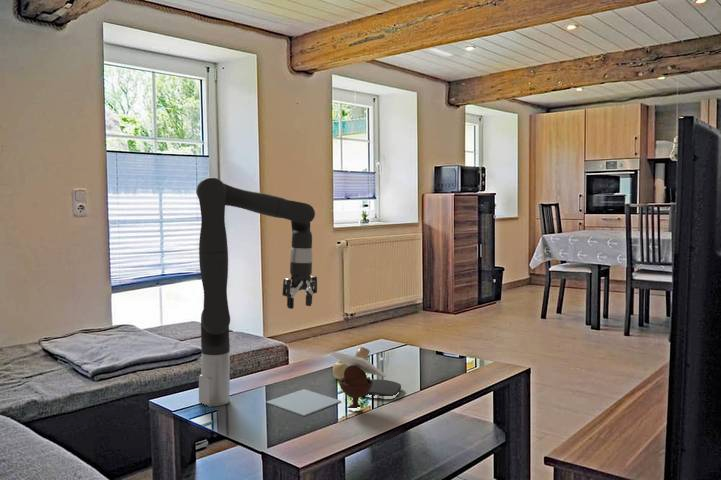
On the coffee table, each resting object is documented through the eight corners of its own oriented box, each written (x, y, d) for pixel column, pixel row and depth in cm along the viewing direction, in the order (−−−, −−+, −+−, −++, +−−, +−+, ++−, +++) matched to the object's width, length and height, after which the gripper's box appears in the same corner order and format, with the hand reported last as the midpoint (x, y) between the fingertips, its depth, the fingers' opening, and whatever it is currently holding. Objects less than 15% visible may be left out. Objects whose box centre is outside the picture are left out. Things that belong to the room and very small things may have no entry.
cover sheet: (362, 360, 191) (369, 343, 193) (330, 353, 200) (336, 337, 203) (385, 377, 200) (391, 360, 203) (353, 369, 210) (359, 354, 212)
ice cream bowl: (372, 415, 196) (373, 369, 194) (337, 414, 196) (338, 369, 195) (372, 404, 206) (373, 360, 205) (339, 403, 206) (340, 359, 205)
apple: (358, 378, 234) (354, 363, 229) (340, 388, 231) (336, 374, 227) (349, 366, 240) (344, 352, 236) (331, 376, 237) (326, 362, 233)
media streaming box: (402, 388, 224) (403, 380, 224) (394, 402, 210) (394, 393, 210) (364, 384, 228) (364, 377, 227) (353, 397, 214) (354, 389, 213)
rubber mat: (303, 416, 194) (303, 415, 194) (266, 402, 205) (266, 401, 205) (341, 402, 208) (341, 400, 208) (304, 390, 219) (304, 389, 219)
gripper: (293, 263, 202) (291, 311, 204) (323, 260, 213) (321, 306, 214) (278, 260, 207) (276, 307, 209) (308, 258, 218) (306, 303, 219)
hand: (299, 307), depth 211 cm, fingers open, 8 cm apart
